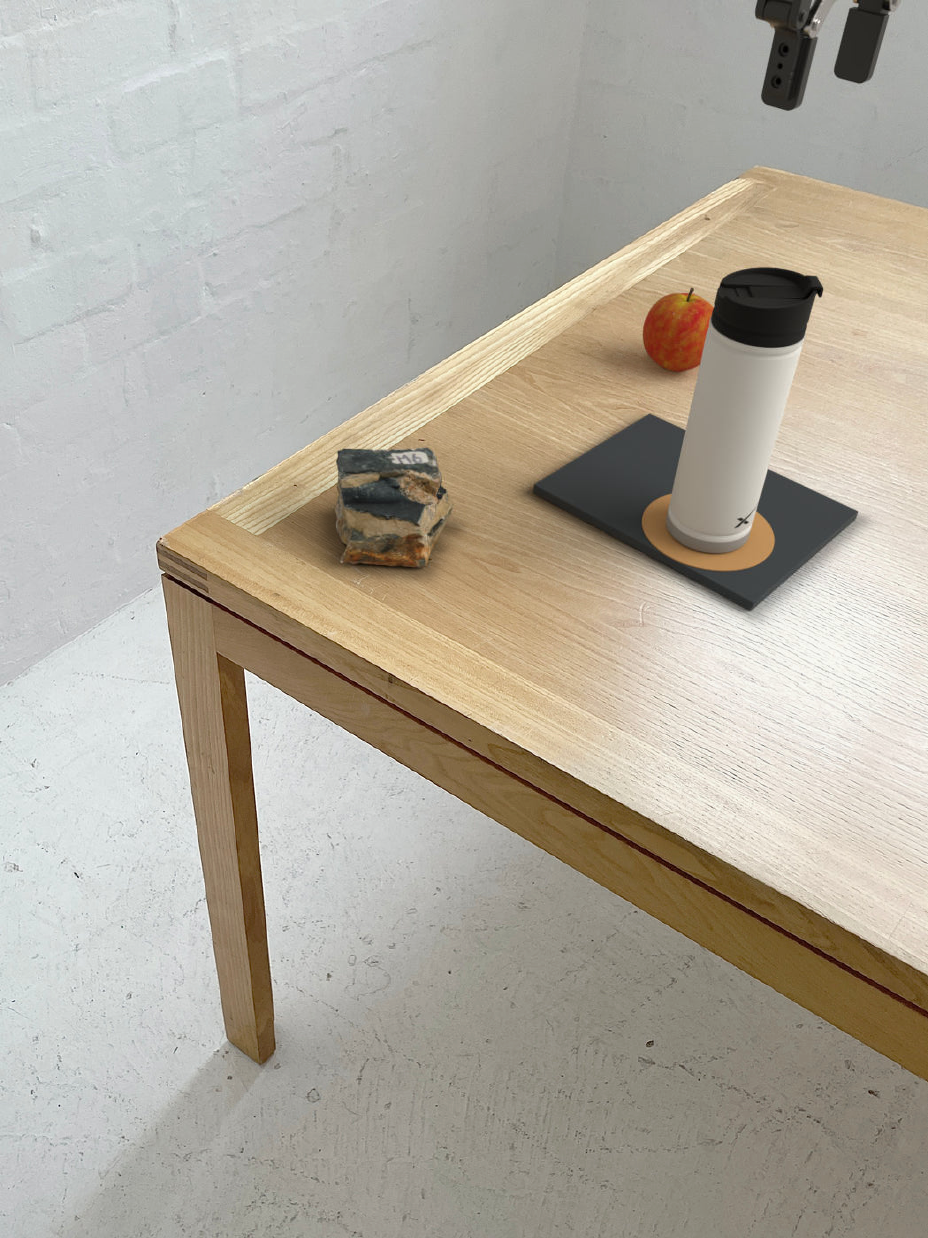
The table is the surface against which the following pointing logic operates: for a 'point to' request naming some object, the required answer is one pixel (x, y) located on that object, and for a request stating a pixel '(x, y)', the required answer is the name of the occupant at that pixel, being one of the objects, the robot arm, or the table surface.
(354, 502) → the rock
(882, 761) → the table surface
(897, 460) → the table surface
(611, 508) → the mat
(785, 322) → the travel mug
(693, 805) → the table surface
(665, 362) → the fruit
